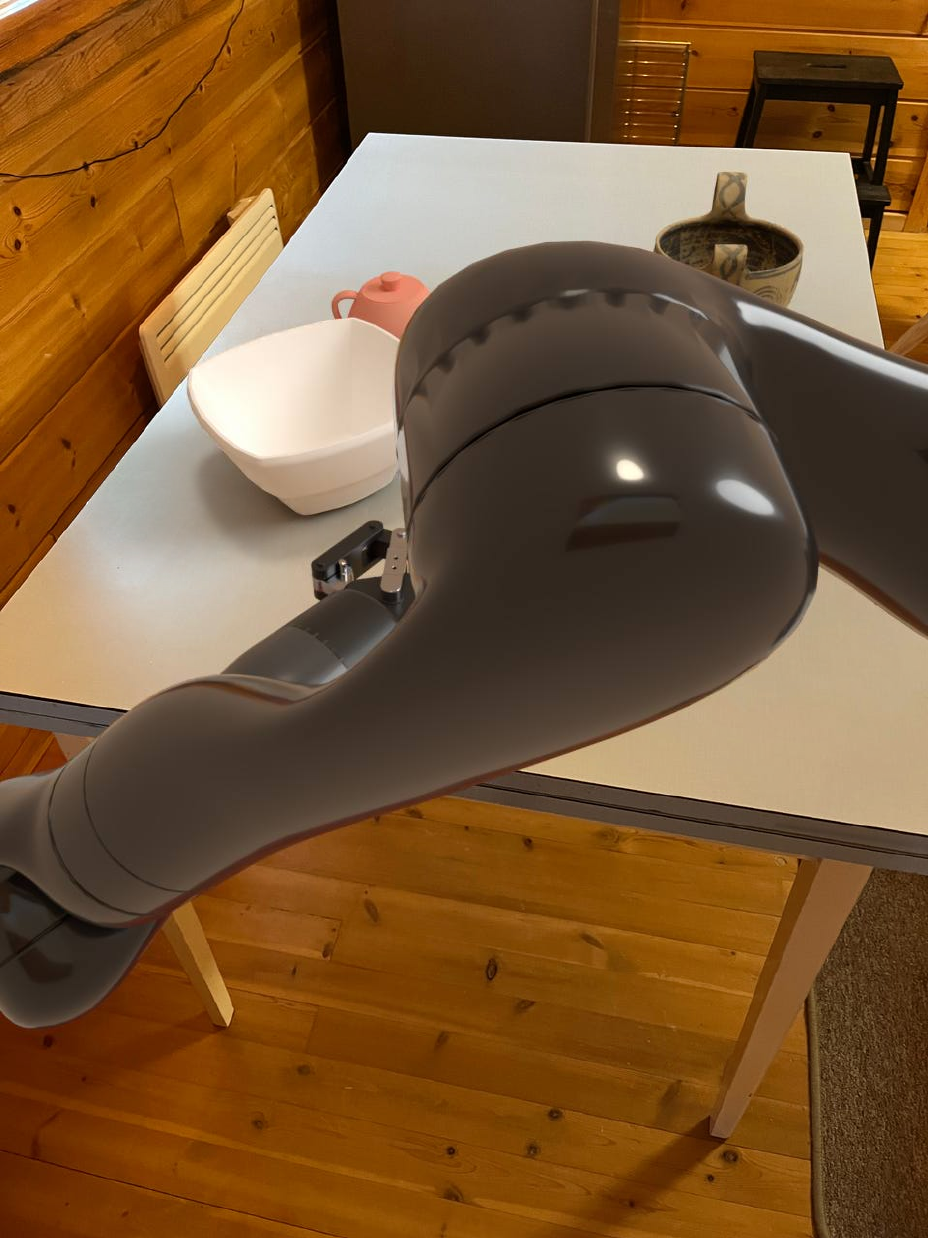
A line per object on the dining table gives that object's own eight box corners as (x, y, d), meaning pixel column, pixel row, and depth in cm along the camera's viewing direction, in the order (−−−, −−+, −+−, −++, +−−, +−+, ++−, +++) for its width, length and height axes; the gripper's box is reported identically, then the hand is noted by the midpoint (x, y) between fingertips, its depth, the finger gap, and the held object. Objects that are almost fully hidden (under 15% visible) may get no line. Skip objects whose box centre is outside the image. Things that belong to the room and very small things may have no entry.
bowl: (476, 498, 93) (472, 397, 84) (270, 582, 85) (244, 480, 77) (375, 398, 106) (363, 302, 98) (190, 463, 99) (160, 366, 90)
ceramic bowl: (650, 283, 123) (663, 165, 112) (783, 291, 120) (809, 170, 109) (637, 372, 108) (651, 244, 97) (788, 383, 105) (820, 253, 94)
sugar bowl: (448, 381, 108) (443, 298, 101) (328, 385, 109) (315, 302, 101) (450, 329, 117) (445, 249, 109) (339, 332, 117) (327, 253, 110)
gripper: (413, 710, 44) (605, 550, 53) (219, 577, 50) (420, 454, 59) (414, 804, 49) (589, 643, 58) (238, 672, 55) (420, 546, 64)
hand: (504, 548), depth 59 cm, fingers open, 8 cm apart
